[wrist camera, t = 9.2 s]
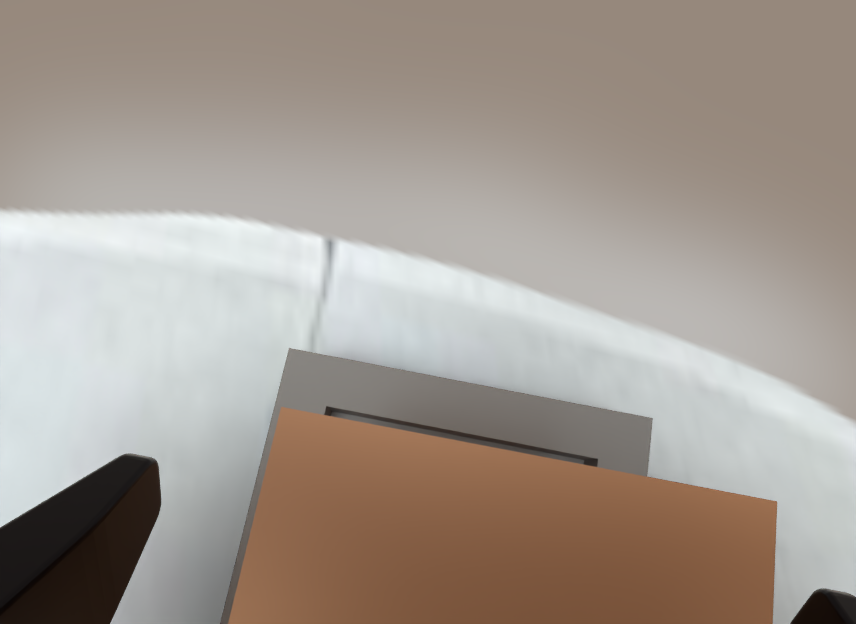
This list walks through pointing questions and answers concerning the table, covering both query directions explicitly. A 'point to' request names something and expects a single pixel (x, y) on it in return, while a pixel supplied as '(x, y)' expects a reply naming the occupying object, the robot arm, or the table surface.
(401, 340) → the table surface
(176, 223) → the table surface
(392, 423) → the gray tray
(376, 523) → the terracotta block
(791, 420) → the table surface
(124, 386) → the table surface
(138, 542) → the robot arm
